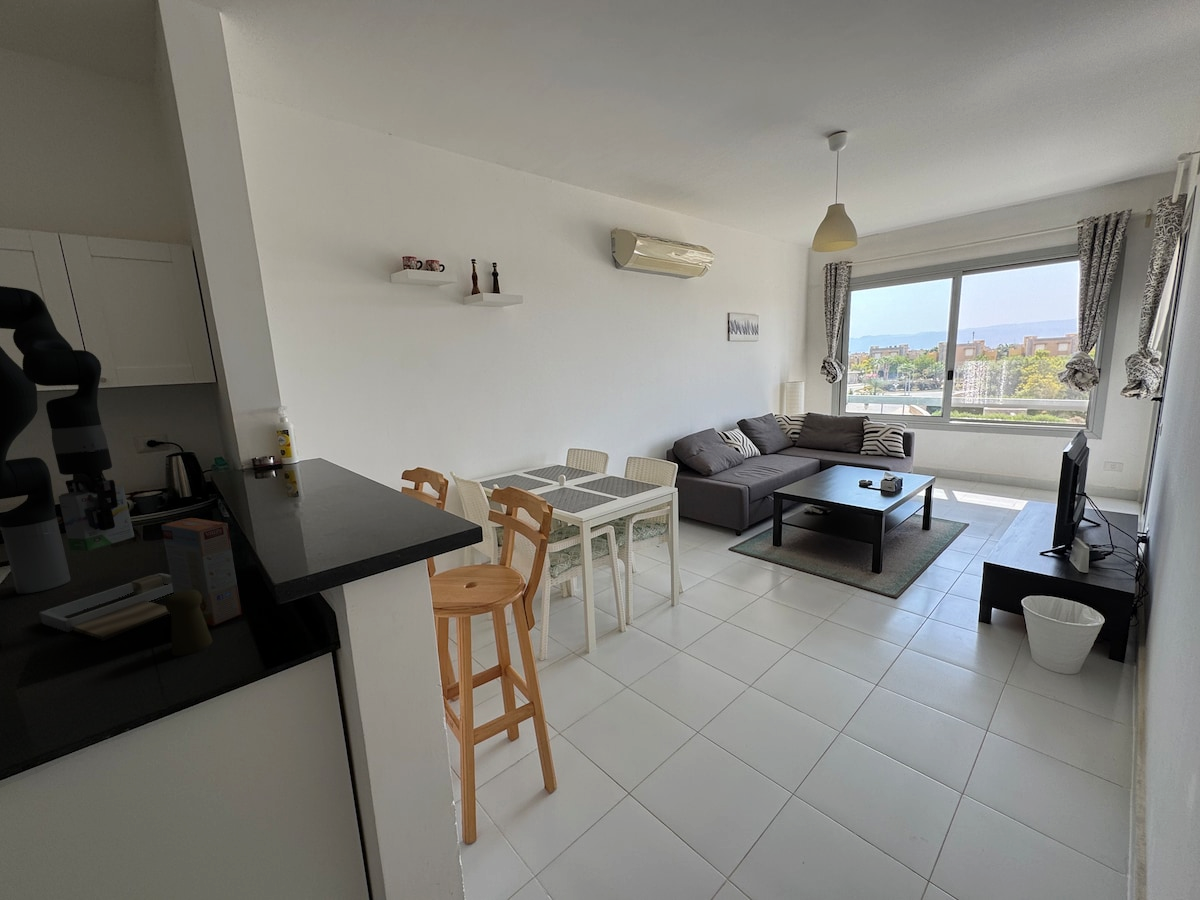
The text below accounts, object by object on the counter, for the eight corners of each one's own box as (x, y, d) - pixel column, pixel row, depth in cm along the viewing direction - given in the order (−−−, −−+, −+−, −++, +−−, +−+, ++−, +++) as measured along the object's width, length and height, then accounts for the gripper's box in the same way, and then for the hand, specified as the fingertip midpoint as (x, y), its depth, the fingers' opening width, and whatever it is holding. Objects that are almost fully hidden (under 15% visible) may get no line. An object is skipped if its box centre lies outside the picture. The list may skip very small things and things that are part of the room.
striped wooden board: (73, 630, 100) (72, 626, 100) (145, 604, 111) (144, 600, 111) (103, 641, 95) (102, 636, 95) (175, 612, 106) (174, 608, 106)
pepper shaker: (178, 659, 88) (167, 603, 86) (166, 650, 91) (155, 596, 89) (218, 643, 93) (208, 589, 91) (205, 635, 96) (195, 583, 94)
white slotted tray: (41, 623, 104) (38, 612, 103) (162, 582, 123) (160, 572, 123) (67, 632, 99) (65, 621, 99) (189, 588, 119) (187, 578, 119)
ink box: (118, 537, 106) (106, 485, 104) (136, 537, 105) (124, 484, 103) (68, 551, 98) (55, 495, 96) (87, 551, 97) (74, 494, 95)
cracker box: (244, 614, 104) (228, 521, 101) (212, 628, 99) (195, 530, 96) (208, 603, 110) (192, 515, 107) (176, 615, 105) (158, 523, 101)
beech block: (134, 597, 115) (131, 581, 115) (155, 590, 119) (152, 574, 118) (143, 599, 114) (140, 583, 113) (164, 592, 117) (161, 576, 117)
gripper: (39, 452, 98) (58, 531, 100) (73, 452, 92) (93, 536, 95) (89, 446, 104) (106, 521, 107) (124, 445, 99) (141, 524, 101)
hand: (100, 527), depth 101 cm, fingers closed on ink box, 5 cm apart
